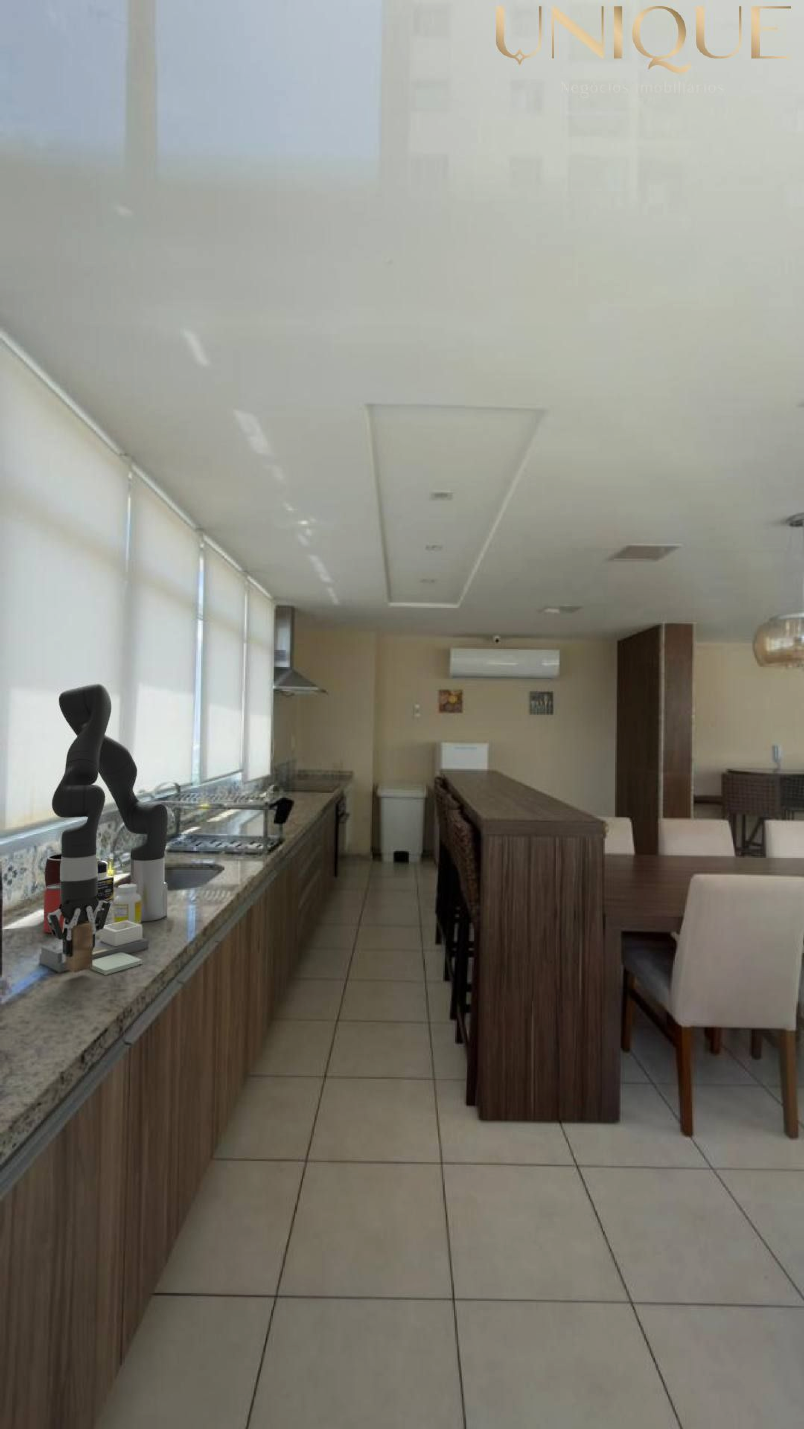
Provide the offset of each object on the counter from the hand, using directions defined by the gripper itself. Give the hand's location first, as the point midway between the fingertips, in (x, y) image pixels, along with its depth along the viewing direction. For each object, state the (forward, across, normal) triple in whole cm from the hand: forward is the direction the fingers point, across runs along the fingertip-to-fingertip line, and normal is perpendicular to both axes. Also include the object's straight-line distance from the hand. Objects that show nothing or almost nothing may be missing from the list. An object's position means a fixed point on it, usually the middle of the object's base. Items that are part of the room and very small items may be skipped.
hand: (78, 953), depth 153 cm
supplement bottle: (+6, -24, -21) cm, 32 cm away
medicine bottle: (+6, -38, -63) cm, 74 cm away
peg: (+3, 0, 0) cm, 3 cm away
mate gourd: (+6, -25, -53) cm, 59 cm away
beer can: (+6, -14, -39) cm, 42 cm away
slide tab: (+3, -16, -11) cm, 20 cm away
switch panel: (+5, -10, -11) cm, 16 cm away
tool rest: (+5, -9, -1) cm, 10 cm away
